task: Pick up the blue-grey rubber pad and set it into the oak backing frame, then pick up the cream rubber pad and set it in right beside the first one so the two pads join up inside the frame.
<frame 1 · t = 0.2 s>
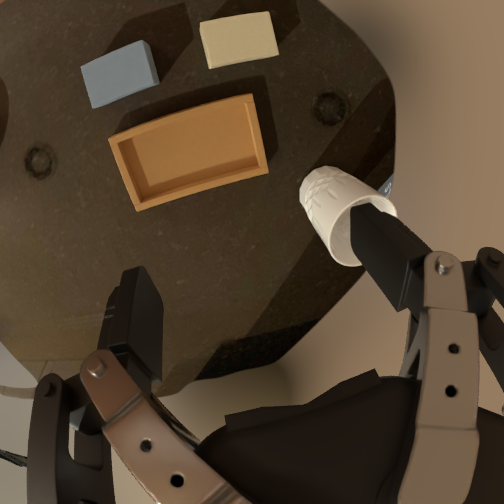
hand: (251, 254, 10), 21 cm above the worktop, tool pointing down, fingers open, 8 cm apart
frame: (189, 149, 27), on the worktop
pad a: (126, 74, 21), on the worktop
pad b: (234, 43, 22), on the worktop
white cup: (323, 190, 33), on the worktop
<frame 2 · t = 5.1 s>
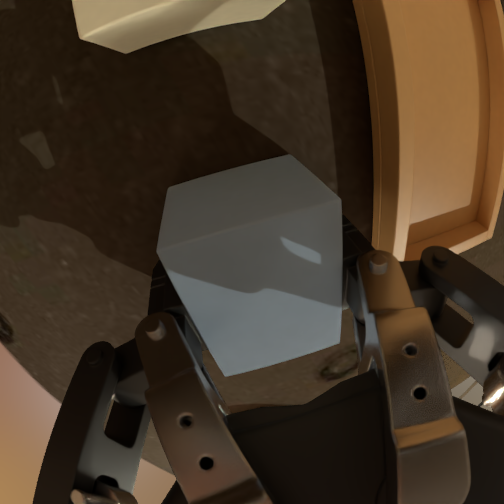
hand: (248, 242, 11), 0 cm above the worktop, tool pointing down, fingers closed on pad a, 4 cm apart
frame: (442, 110, 9), on the worktop
pad a: (247, 238, 11), on the worktop, touching gripper
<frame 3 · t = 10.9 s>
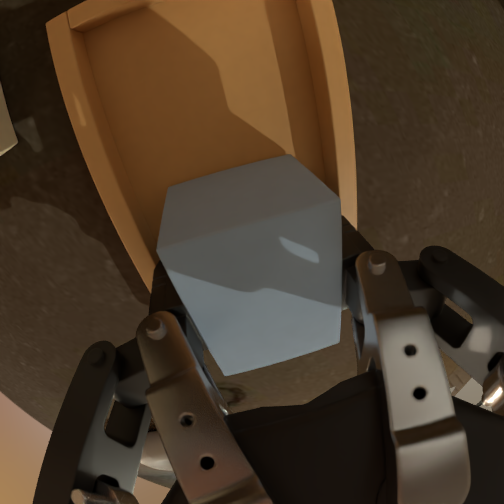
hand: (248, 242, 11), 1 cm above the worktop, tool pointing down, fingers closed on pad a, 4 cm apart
frame: (226, 162, 10), on the worktop
pad a: (247, 237, 11), point 1 cm above the worktop, touching gripper
donut: (177, 437, 25), on the worktop
when the fingers open (2 cm above the worktop, at t = 14.3 s): pad a stays where it is, resting on frame.
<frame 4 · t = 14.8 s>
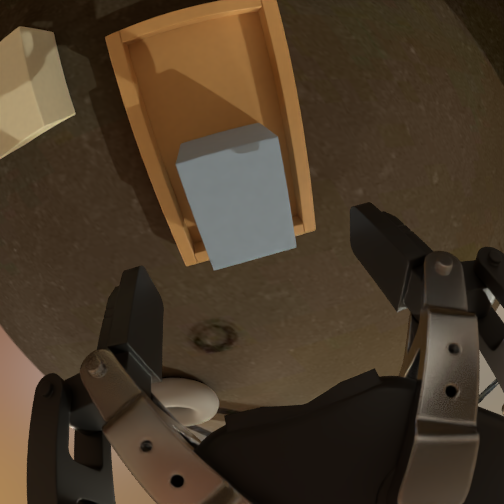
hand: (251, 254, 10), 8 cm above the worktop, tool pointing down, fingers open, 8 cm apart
frame: (219, 129, 15), on the worktop
pad a: (232, 179, 16), point 1 cm above the worktop, touching frame
pad b: (35, 89, 11), on the worktop
donut: (176, 390, 30), on the worktop
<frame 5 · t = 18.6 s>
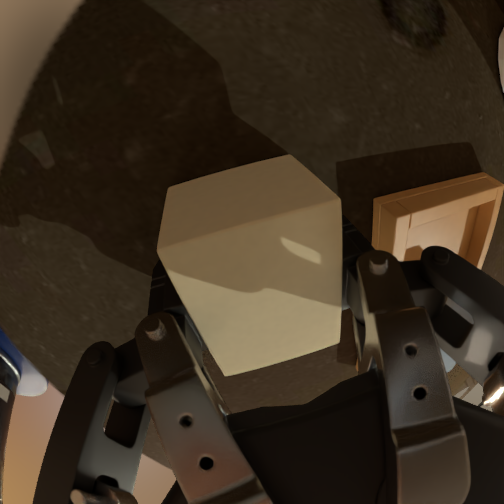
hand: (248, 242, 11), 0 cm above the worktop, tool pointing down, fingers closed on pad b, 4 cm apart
frame: (419, 285, 16), on the worktop
pad a: (415, 321, 17), point 1 cm above the worktop, touching frame
pad b: (247, 238, 11), on the worktop, touching gripper
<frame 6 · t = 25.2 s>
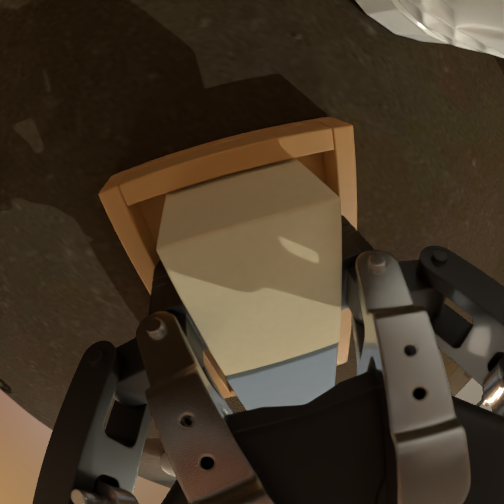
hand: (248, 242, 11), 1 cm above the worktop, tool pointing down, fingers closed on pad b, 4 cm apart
frame: (258, 286, 14), on the worktop
pad a: (270, 332, 15), point 1 cm above the worktop, touching frame
pad b: (246, 237, 11), point 1 cm above the worktop, touching gripper
donut: (197, 450, 29), on the worktop
when the fingers open (2 cm above the worktop, at t = 27.7 s): pad b stays where it is, resting on frame.
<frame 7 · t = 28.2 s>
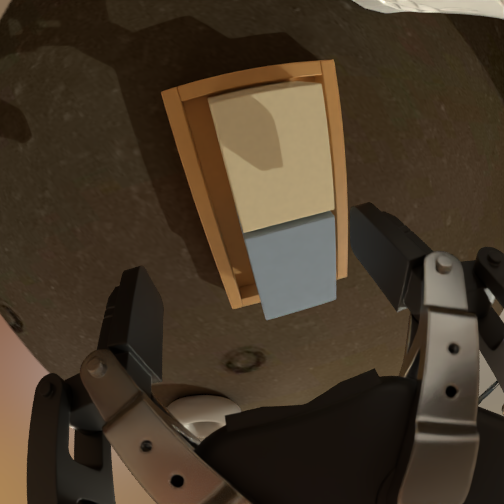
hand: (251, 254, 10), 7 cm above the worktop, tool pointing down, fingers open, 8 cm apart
frame: (269, 188, 17), on the worktop
pad a: (279, 234, 18), point 1 cm above the worktop, touching frame
pad b: (261, 139, 14), point 1 cm above the worktop, touching frame
donut: (201, 405, 32), on the worktop
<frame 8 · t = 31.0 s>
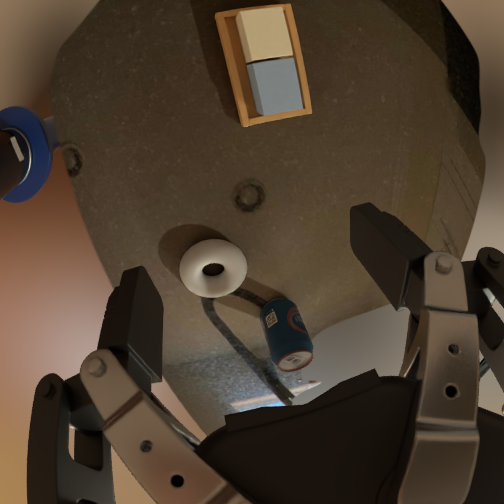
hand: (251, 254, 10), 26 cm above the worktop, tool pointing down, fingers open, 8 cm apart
frame: (263, 62, 28), on the worktop
pad a: (269, 85, 29), point 1 cm above the worktop, touching frame
soda can: (276, 308, 51), on the worktop
pad b: (258, 37, 25), point 1 cm above the worktop, touching frame
donut: (212, 262, 43), on the worktop
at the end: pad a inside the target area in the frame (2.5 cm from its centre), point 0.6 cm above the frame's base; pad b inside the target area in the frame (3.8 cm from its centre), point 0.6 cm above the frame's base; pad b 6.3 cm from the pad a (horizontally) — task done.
